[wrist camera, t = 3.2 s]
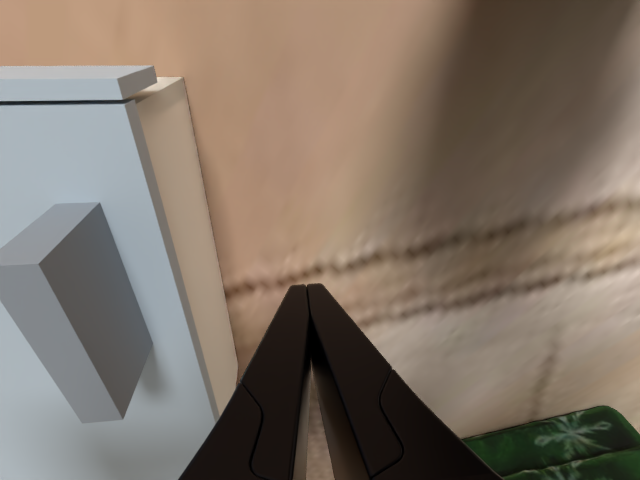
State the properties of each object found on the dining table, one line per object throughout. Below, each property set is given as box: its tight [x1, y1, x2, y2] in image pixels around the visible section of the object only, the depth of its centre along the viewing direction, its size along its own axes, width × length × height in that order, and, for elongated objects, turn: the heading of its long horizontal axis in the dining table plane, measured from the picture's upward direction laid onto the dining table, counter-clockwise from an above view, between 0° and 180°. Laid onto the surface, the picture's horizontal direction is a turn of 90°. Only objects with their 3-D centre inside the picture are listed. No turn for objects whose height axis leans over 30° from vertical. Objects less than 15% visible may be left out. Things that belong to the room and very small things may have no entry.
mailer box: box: [125, 77, 238, 416], centre depth 14 cm, size 13×16×5 cm
